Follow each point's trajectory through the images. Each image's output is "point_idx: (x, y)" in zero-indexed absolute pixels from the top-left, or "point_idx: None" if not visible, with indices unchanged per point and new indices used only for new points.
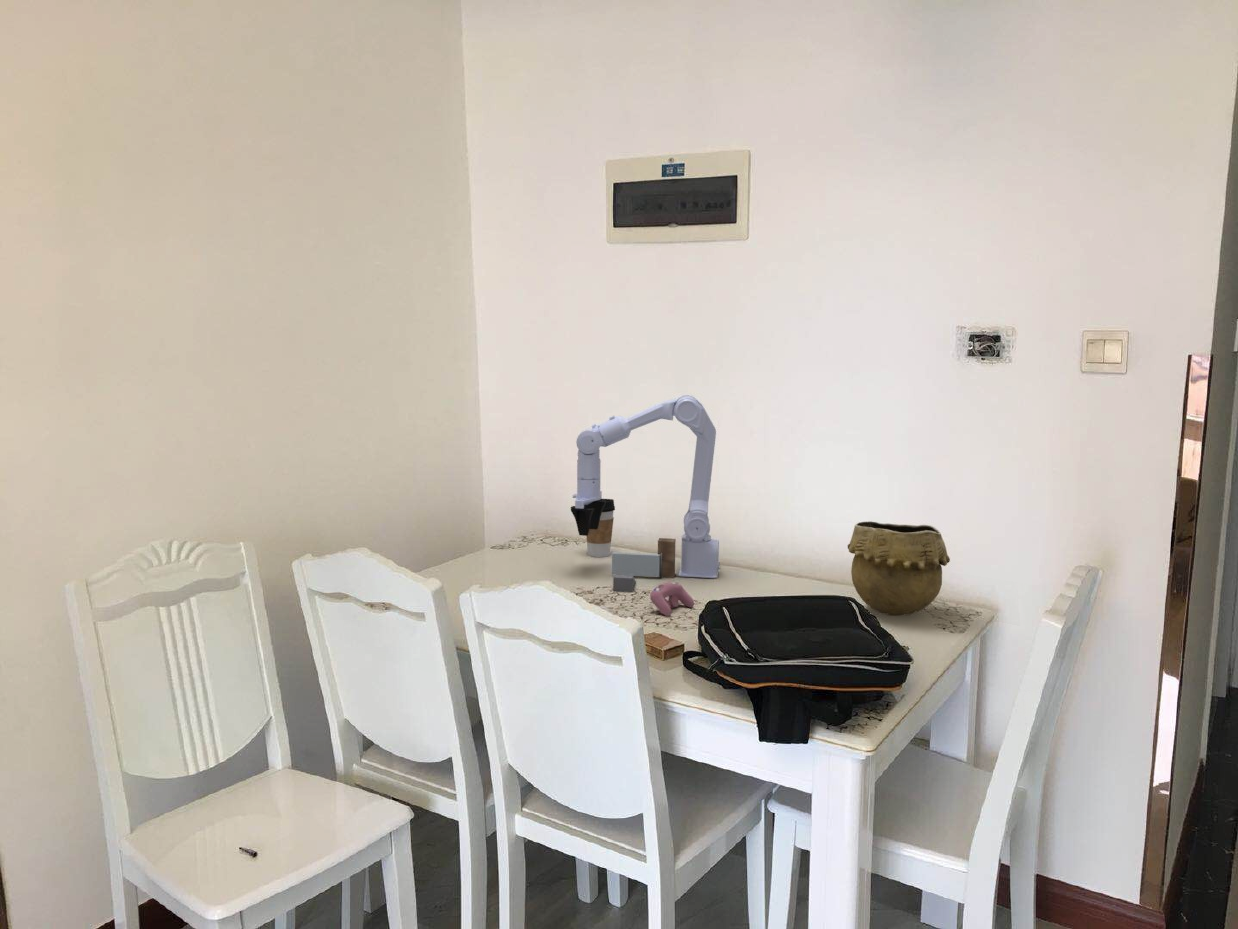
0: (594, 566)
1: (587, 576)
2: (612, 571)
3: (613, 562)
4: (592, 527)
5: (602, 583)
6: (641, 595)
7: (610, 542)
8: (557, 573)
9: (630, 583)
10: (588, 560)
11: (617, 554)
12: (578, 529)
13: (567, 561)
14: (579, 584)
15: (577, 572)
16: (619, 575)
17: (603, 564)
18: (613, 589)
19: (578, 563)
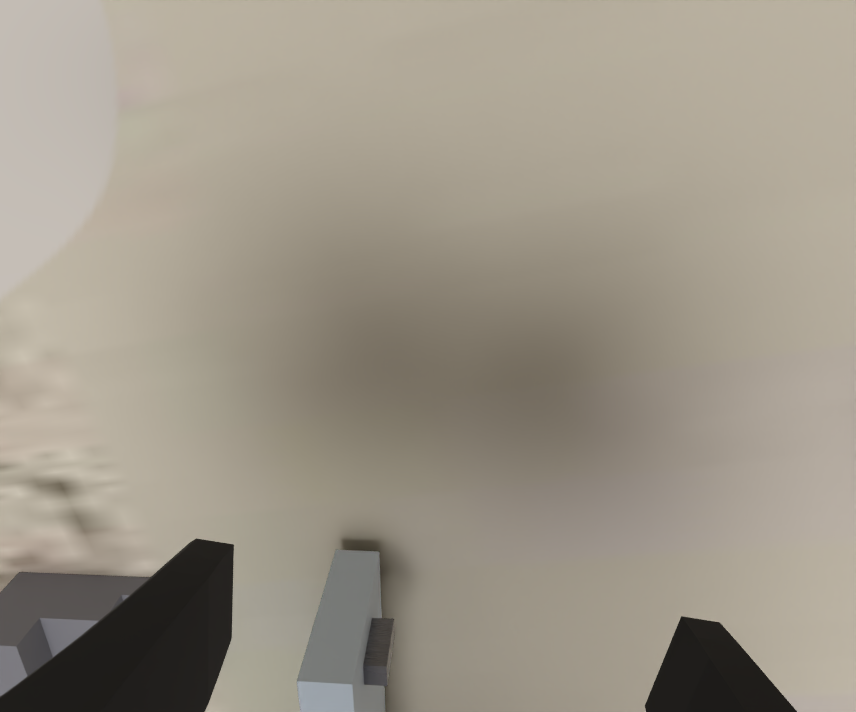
0: (624, 393)
1: (306, 385)
2: (332, 567)
3: (316, 626)
4: (671, 679)
5: (161, 501)
6: None
7: None
8: (334, 123)
9: None
10: (843, 316)
11: (303, 710)
12: (129, 601)
13: (810, 122)
14: (75, 364)
15: (407, 292)
16: (17, 672)
17: (696, 449)
18: (11, 582)
19: (726, 246)
